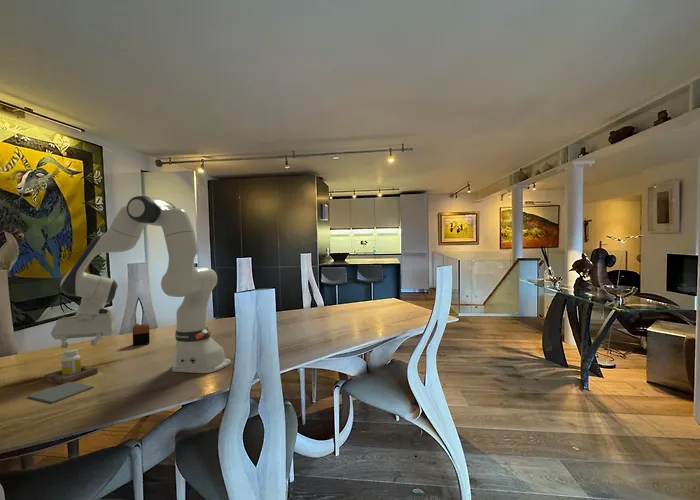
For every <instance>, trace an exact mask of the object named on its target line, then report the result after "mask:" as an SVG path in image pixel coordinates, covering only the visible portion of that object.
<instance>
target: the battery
mask: <svg viewBox="0 0 700 500" xmlns="http://www.w3.org/2000/svg"><path fill="white" fill-rule="evenodd" d="M150 335H151V334H150V324H149V323H147V322H146V323H143V324H140V323H135V324H134V325H133V326H132V346H133V347H136V346H145V345H149V344H150V343H151V342H150V341H151V340H150Z"/></svg>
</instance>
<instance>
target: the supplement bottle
mask: <svg viewBox="0 0 700 500" xmlns="http://www.w3.org/2000/svg"><path fill="white" fill-rule="evenodd" d="M81 363H82V361H81V355H80V354H79V350H78V348H72V349H66V350H64V351H63V357H62V359H61V370H62V375H65V376H68V375H72V374H75V373H78V372H81V365H82V364H81Z"/></svg>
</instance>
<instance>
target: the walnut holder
mask: <svg viewBox="0 0 700 500" xmlns="http://www.w3.org/2000/svg"><path fill="white" fill-rule="evenodd" d="M98 373H99V372H98V367H94V366H93V367H92V366H88V365H87V366H86V365H82V364H81V372H78V373H75V374H72V375H68V376H65V375H62V369H60V370H57V371H53V372H50V373H46V374H44V375H43V376H44V377H43V378H44V380H43V381H46V382H50V383H55V384H59V385H62V384H65V383H68V382H76V381H78V380H82V379H85V378H88V377H90V376H93V375H96V374H98Z"/></svg>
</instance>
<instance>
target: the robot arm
mask: <svg viewBox="0 0 700 500" xmlns="http://www.w3.org/2000/svg"><path fill="white" fill-rule="evenodd" d="M149 225H150V226H155V227H161V229H162V231H163V236H164V240H165V245H166V249H167V254H168V262H167V263H168V265H167V270H166V272H165V273H164V274H163V276H162V278H161V279H160V280H161V281H160V286H161V290H162V292H163V293H164V294H165V295H166V296H168V297H174V298H183V301H182V302H181V304H180V305H179V307H178V308H177V310H176V312H175V313H176V314H175V315H176V329H175V334H174V335H175V336H174V337H175V340H176V343H175V349H174V357H173V359H174V360H173V363H172V368H171V371H172V372H174V373H191V374H192V373H195V374H209V373H210V374H211V373H214V372H216V371H219V370H221V369H224V368H225V367H227V366H229V365H230V364H231V363H232V360H231V359H230V358H226V357H225V356H226V355H225V350H224V347H222V346H221V345H220V344H218V342H216V340H215V339H213V338H212V337H211V334H212V332H213V330H212V329H211V330H210V329H209V328H208V326H207V324H208V319H207V318H208V312H207V311H208V306H209V305H208V304H209V300H210V298H211V294H212V292H213V290H214V288H215V287H216V286H217V284H218V279H219V278H218V275H217V272H216V271H215V270H214V269H212V268H210V267H206V266H195V257H196V255H198V253H199V245H198V242H197V238H196V234H195V230H194V227H193V224H192V222H191V219H190V217H189V214H188V212H187V211H185V210H184V209H182V208H177V207H176V206H175V205H174V204H172V203H171V202H168V201H165V200H162V199H160V198H155V197H150V196H146V195H138V196H137V195H136V196H134V197H131V198H130V199H129V201H128V202H127V204H126V205H124V206H122V207H121V208H120V209H119V211H118V212H117V214H116V215H115V217H114V218H113V220H112V221H111V223H110V226H109V228H108V230H107V231H106V232H105V233H103V234H102V235H97V236H95V237H93V239H92V240H91V241H90V243H88V245H87V246H86V247H85V248H84V250H83V251H82V253H81V254H80V256H79V258H78V259H77V260H76V262H75V263H74V264H73V266H72V268H71V269H70V270H69V271H68V272H67V273H65V275H64V276H63V277H62V279H61V280H60V284H59V285H60V286H59V288H60V291H62V293H63V294H64V295H66V296H70V297H81V300H80V305H79V306H78V307H77V311H76V313H75V315H74V316H67V317H66V316H64V317H62V318H59V319H57V320H56V322H55V325H54V326H53V327H52V329H51V331H50V337H52V338H53V339H54V340H60V341H61V345H60V348H61V349H67V348H68V346H69V343H68V342H67V340H69V339H80V338H81V339H82V338H94V339H91V341H90V346H91V347H94V346H95V347H96V346H97V344H98V342H100V340H102V339H103V337H109V336H112V335H113V334H114V333H115V328H116V322H115V320H116V319H115V314H114V313H113V311H112V310H111V309H107V308H105V307H106V305H107V304H109V303H110V302H113V300H114V299H115V297H116V293H117V289H118V287H119V286H118V284H117V283H118V282H116V280H115V279H113V278H110V277H106V276H100V275H96V274H92V273H88V272H86V271H85V270H86V269H87V267H88V266H89V265H90V263H91V262H92V261H93V259H94V258H95V257H97V256H98V255H100V254H108V253H123V252H124V253H125V252H127V251H130V250H132V249H133V248H135V246H136V245H137V244H138V242H139V241H140V238H141V236H142V232H143V230H144V229H145V227H147V226H149Z"/></svg>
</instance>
